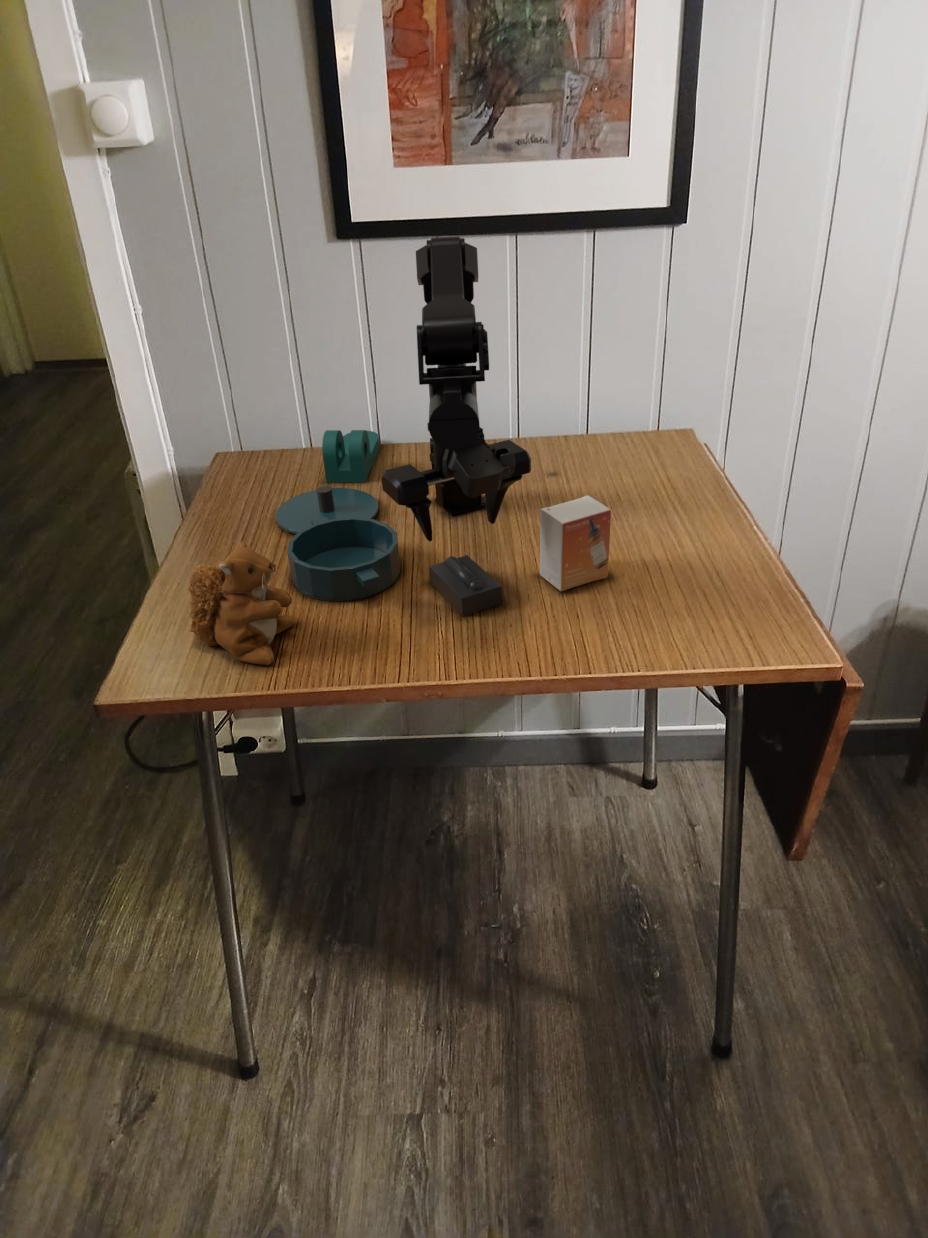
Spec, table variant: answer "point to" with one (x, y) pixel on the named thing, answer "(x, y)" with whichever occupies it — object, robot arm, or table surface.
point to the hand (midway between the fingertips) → (460, 531)
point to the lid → (325, 507)
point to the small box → (574, 542)
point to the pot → (344, 558)
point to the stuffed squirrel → (239, 606)
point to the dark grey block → (465, 585)
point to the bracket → (349, 455)
